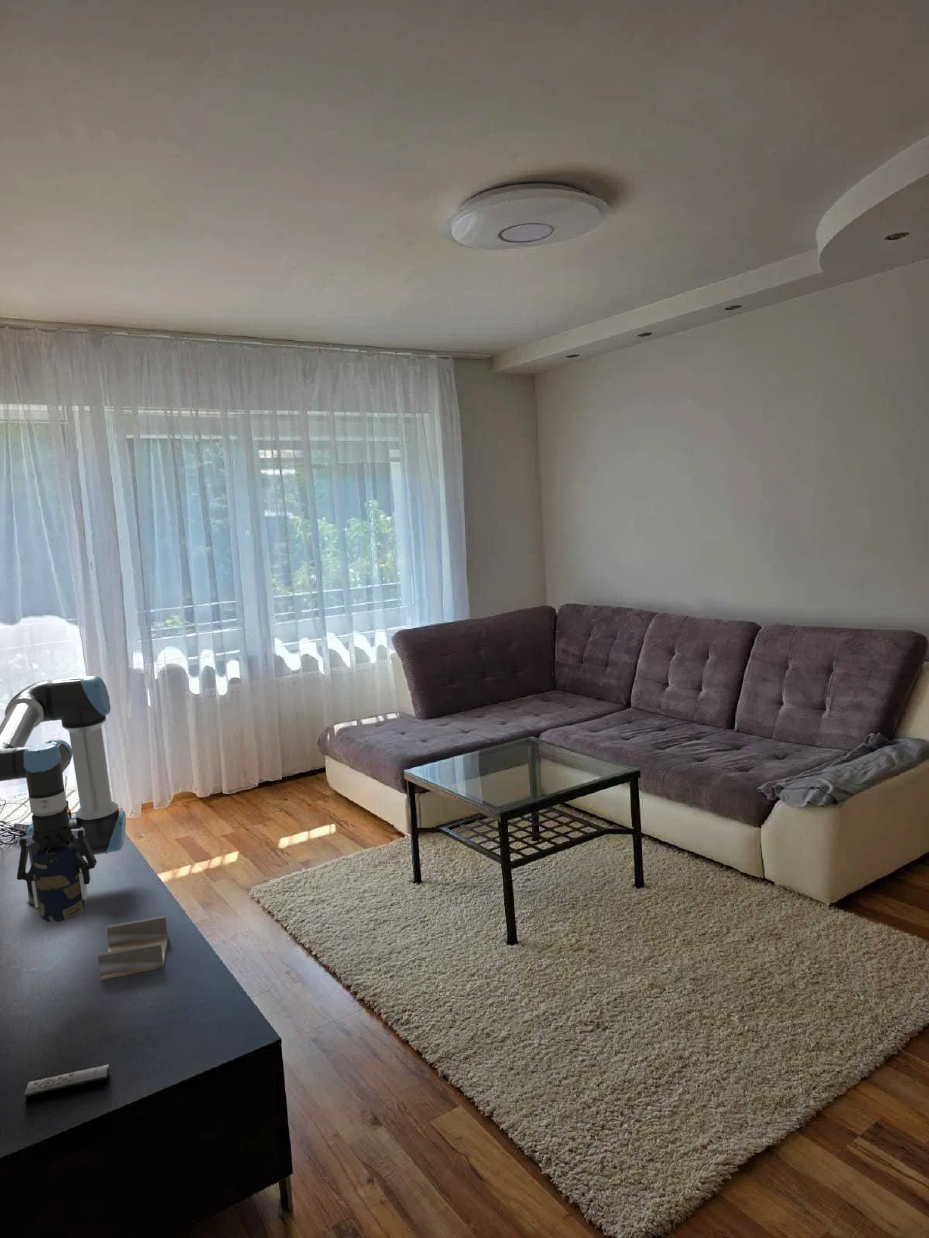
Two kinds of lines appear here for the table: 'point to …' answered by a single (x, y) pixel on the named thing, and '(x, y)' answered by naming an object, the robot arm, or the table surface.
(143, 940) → the keeper cradle
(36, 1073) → the table surface
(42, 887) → the canister
